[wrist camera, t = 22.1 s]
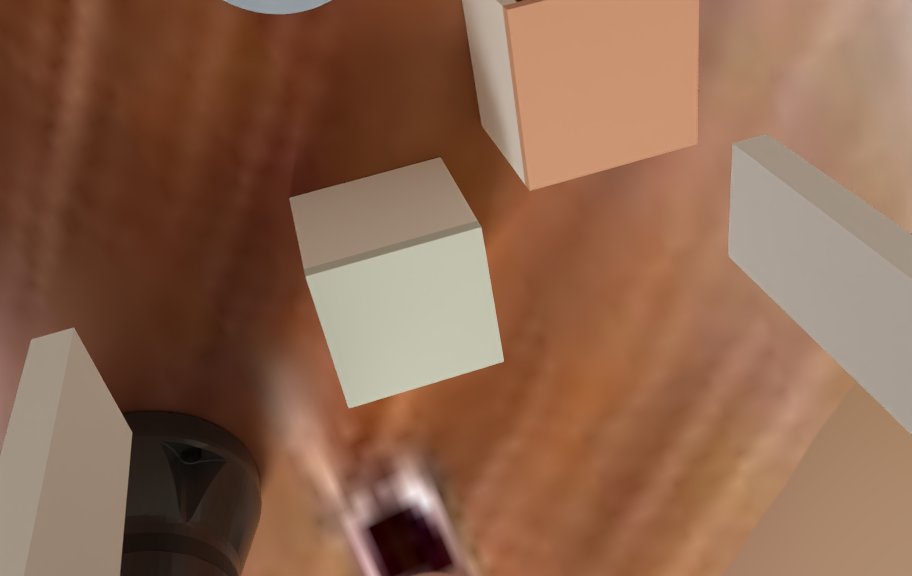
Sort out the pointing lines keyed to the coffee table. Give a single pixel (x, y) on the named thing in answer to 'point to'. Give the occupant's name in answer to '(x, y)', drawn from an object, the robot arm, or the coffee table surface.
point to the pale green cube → (398, 280)
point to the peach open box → (584, 81)
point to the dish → (277, 5)
